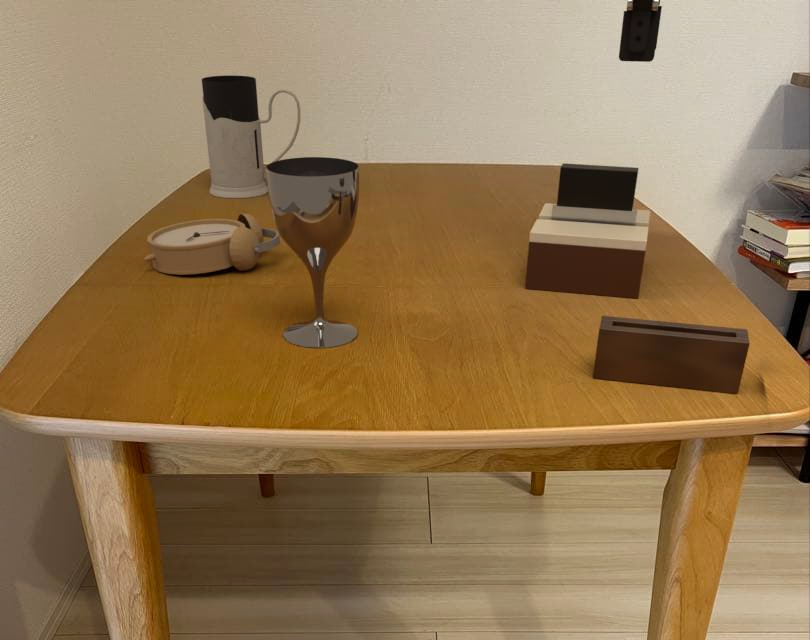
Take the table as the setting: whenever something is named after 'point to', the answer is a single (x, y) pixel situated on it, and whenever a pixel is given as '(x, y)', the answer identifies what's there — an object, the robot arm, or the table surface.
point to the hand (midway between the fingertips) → (637, 56)
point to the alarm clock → (209, 245)
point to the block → (671, 354)
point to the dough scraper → (596, 194)
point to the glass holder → (236, 136)
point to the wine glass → (315, 230)
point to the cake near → (586, 258)
